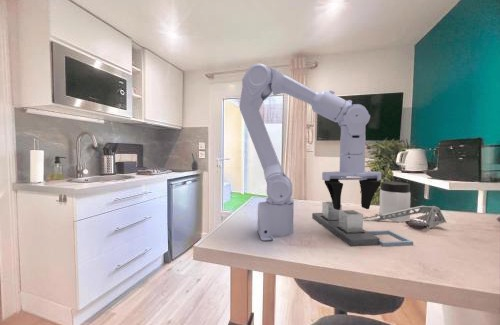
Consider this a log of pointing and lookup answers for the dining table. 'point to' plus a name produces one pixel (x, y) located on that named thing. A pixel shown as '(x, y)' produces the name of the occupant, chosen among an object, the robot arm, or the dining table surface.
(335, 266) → the dining table surface
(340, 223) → the light grey rectangular block
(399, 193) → the jar
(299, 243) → the dining table surface
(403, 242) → the tray
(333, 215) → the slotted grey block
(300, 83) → the robot arm
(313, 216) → the slotted metal plate
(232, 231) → the dining table surface
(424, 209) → the bracket
